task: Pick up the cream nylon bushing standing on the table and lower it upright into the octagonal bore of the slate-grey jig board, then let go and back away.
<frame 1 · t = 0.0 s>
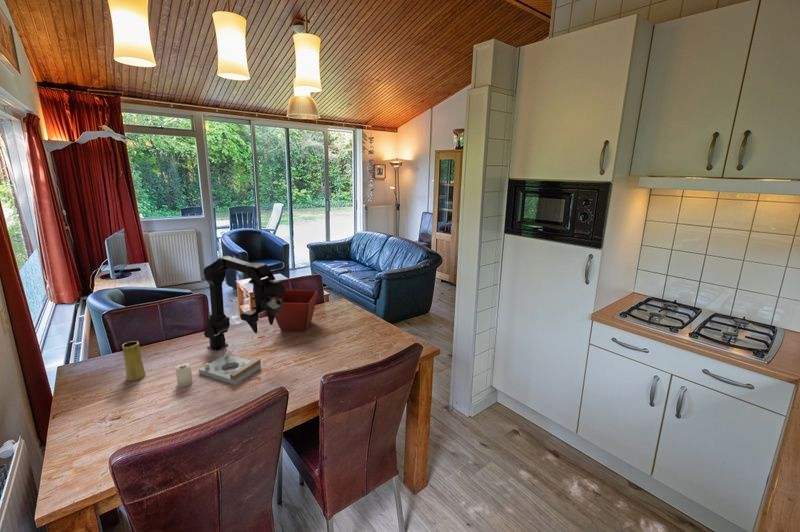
hand: (263, 328, 159), 15 cm above the table, fingers open, 9 cm apart
bushing: (185, 383, 144), on the table
vase: (136, 377, 148), on the table
jig: (230, 370, 154), on the table
plant pot: (296, 326, 197), on the table
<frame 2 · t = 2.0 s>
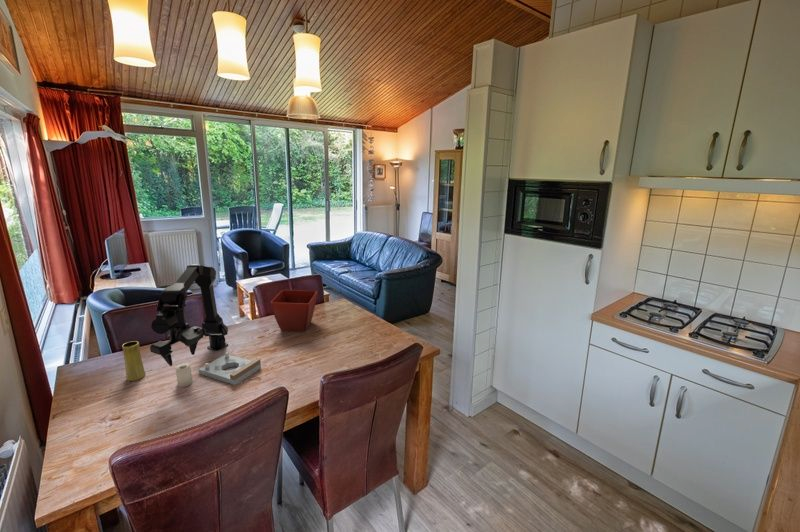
hand: (182, 360, 142), 10 cm above the table, fingers open, 9 cm apart
nothing on the table moved.
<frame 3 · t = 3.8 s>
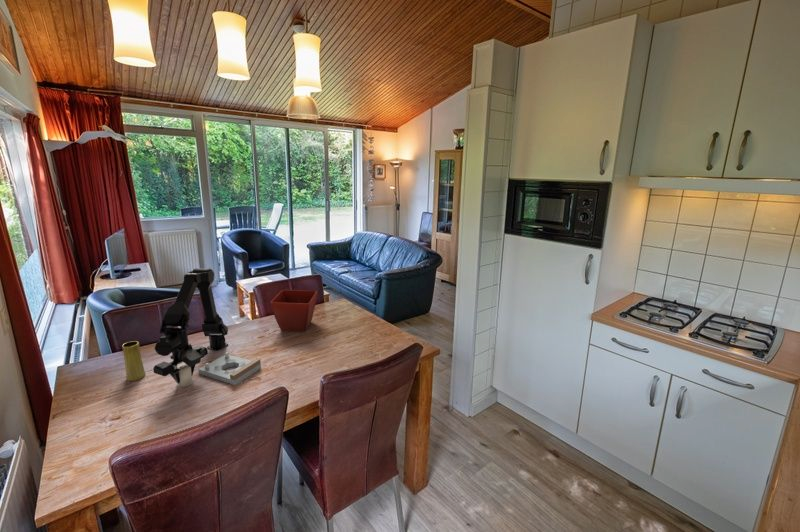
hand: (184, 379, 144), 2 cm above the table, fingers closed on bushing, 5 cm apart
bushing: (185, 383, 144), on the table, touching gripper
everything else where it was.
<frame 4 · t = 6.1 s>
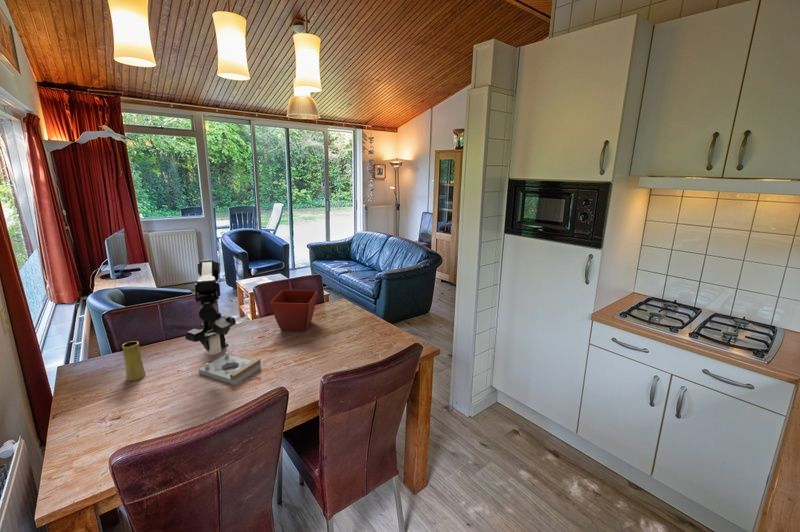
hand: (213, 347, 148), 12 cm above the table, fingers closed on bushing, 5 cm apart
bushing: (214, 351, 148), point 10 cm above the table, touching gripper
everything else where it was.
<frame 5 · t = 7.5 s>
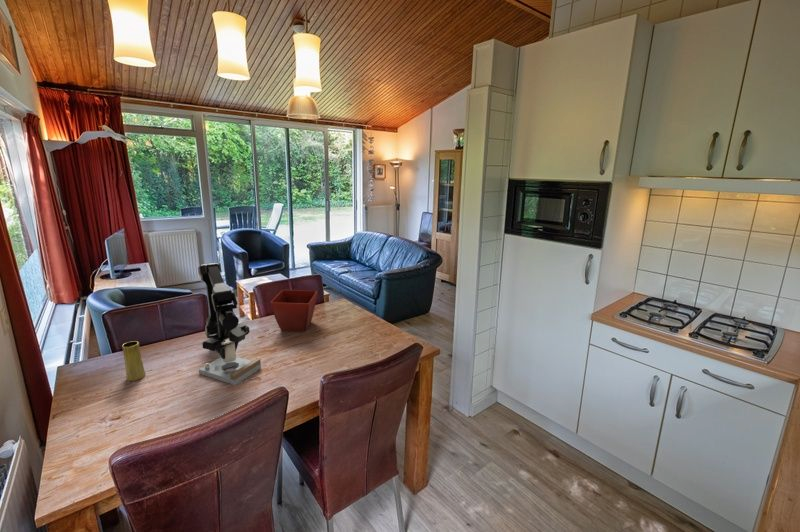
hand: (229, 355, 152), 7 cm above the table, fingers closed on bushing, 5 cm apart
bushing: (229, 359, 153), point 5 cm above the table, touching gripper
everything else where it was.
when the fingers open (2 cm above the table, at t = 8.7 s): bushing stays where it is, resting in jig.
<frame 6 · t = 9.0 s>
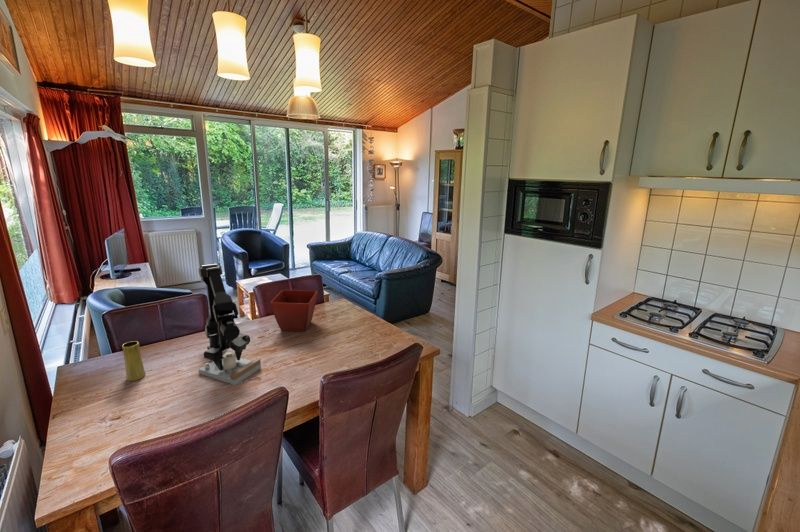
hand: (230, 365, 153), 2 cm above the table, fingers open, 9 cm apart
bushing: (230, 370, 154), resting in jig
everything else where it was.
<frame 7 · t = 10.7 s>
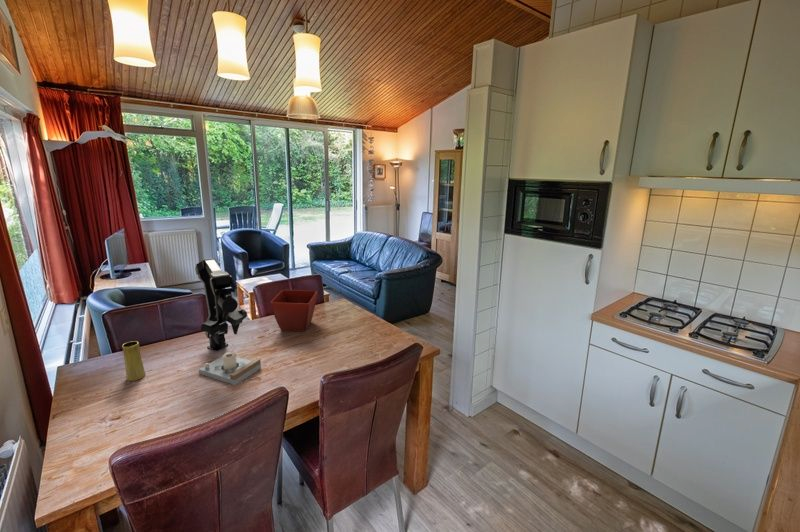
hand: (226, 338, 156), 11 cm above the table, fingers open, 9 cm apart
nothing on the table moved.
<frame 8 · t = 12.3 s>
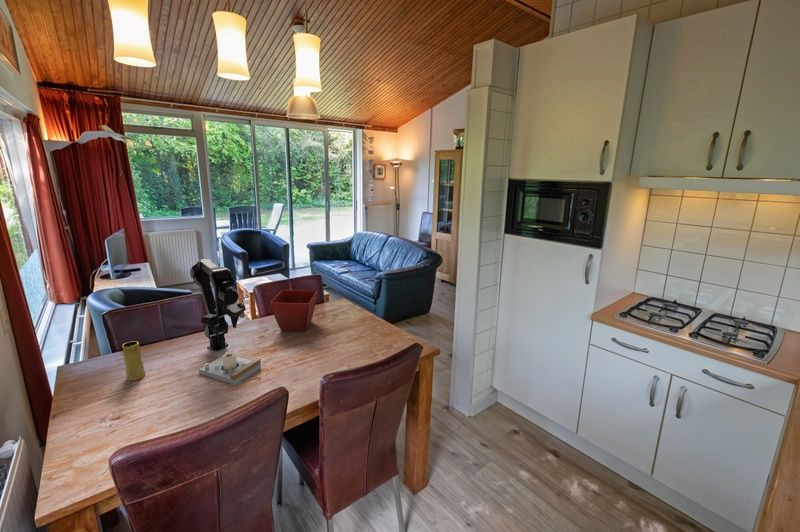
hand: (226, 331, 161), 12 cm above the table, fingers open, 9 cm apart
nothing on the table moved.
at the end: bushing 0.0 cm off-centre on the jig, point 0.0 cm above the jig's base; bushing tilted 0°; the gripper is holding nothing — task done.
